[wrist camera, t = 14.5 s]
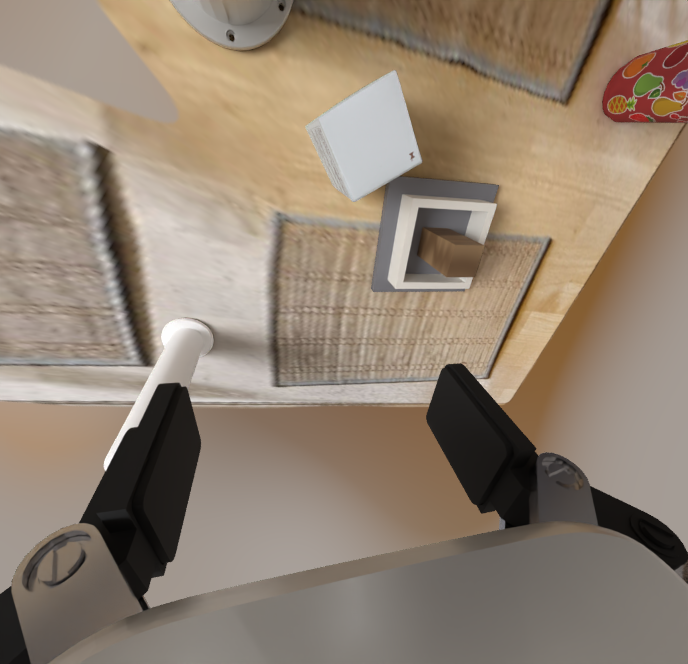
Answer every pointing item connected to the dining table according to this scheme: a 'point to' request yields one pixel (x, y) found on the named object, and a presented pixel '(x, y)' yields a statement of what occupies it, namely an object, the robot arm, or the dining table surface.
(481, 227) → the collar stand
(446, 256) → the block
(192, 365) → the candle
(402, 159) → the supplement box
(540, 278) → the dining table surface
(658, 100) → the smoothie
